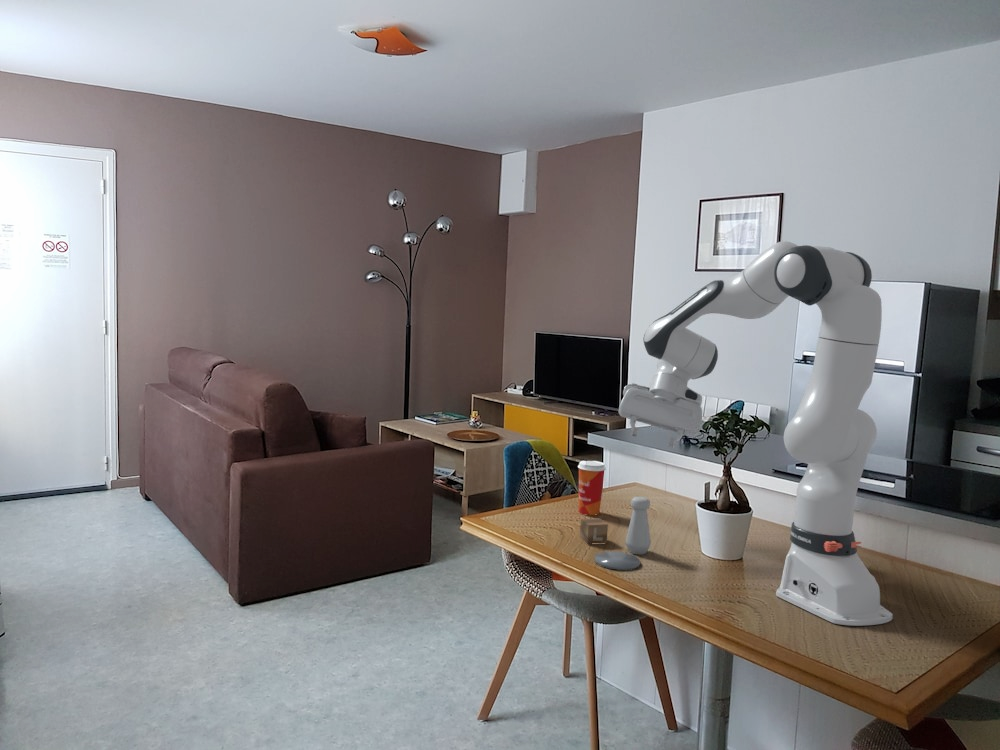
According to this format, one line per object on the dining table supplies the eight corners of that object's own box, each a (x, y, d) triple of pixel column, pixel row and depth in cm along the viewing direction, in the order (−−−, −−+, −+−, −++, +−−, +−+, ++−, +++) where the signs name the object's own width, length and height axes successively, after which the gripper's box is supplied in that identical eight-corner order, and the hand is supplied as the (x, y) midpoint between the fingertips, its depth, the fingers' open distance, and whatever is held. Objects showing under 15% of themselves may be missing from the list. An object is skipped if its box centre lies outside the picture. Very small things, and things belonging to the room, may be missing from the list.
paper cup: (571, 508, 214) (574, 459, 212) (598, 508, 215) (601, 459, 214) (579, 517, 206) (582, 466, 205) (606, 516, 208) (610, 466, 206)
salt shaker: (648, 548, 182) (652, 495, 181) (651, 556, 177) (655, 502, 175) (624, 546, 183) (627, 493, 182) (625, 554, 177) (629, 500, 176)
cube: (606, 544, 185) (608, 524, 184) (587, 545, 183) (588, 525, 183) (598, 537, 189) (599, 518, 189) (579, 538, 188) (580, 518, 188)
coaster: (647, 569, 169) (647, 565, 168) (605, 571, 166) (605, 568, 166) (627, 553, 178) (627, 550, 178) (587, 556, 175) (588, 552, 175)
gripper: (627, 375, 192) (611, 423, 186) (708, 398, 187) (695, 447, 181) (625, 387, 197) (610, 433, 191) (704, 409, 192) (691, 458, 187)
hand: (652, 440), depth 186 cm, fingers open, 8 cm apart
